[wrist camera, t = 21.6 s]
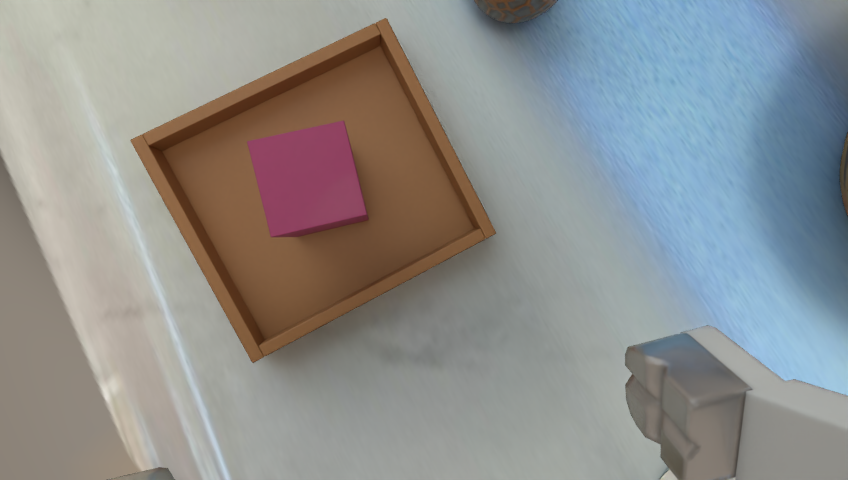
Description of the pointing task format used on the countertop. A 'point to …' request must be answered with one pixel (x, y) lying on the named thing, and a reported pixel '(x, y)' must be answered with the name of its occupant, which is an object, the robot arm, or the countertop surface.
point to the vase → (514, 9)
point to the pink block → (308, 180)
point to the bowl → (844, 174)
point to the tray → (330, 249)
